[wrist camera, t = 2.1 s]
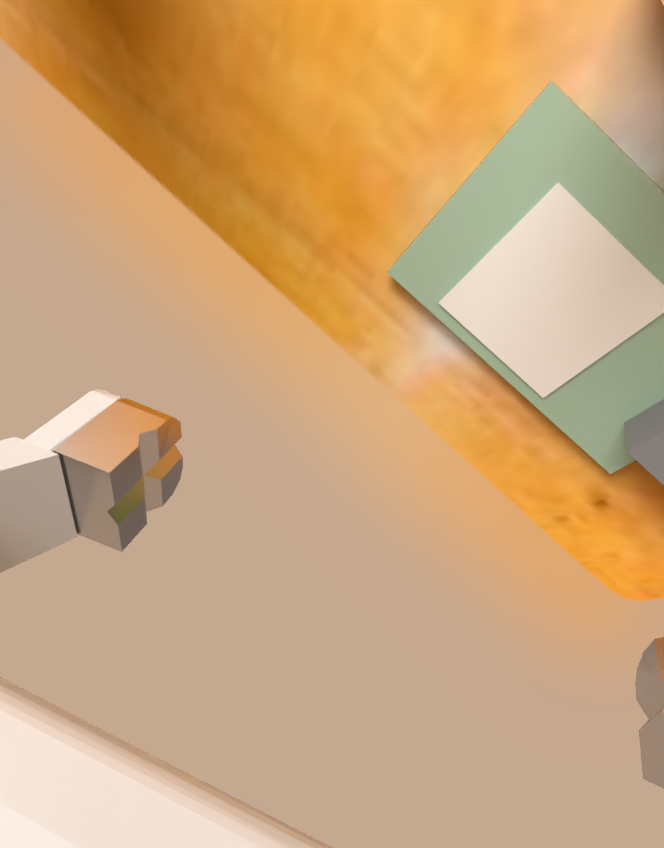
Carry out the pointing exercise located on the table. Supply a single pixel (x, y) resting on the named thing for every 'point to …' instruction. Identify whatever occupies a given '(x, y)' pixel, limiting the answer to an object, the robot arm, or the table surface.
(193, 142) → the table surface
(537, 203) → the green board with pad
